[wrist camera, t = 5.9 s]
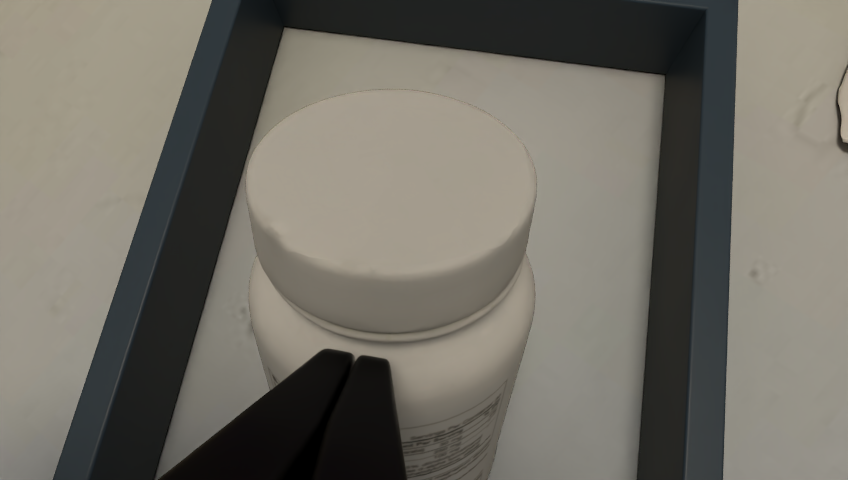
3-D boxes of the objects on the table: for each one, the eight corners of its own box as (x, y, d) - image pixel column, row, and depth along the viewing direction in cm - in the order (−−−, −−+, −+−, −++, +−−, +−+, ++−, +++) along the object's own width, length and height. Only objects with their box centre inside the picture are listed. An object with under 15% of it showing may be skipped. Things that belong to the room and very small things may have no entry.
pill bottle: (345, 335, 16) (320, 48, 10) (513, 393, 15) (596, 112, 9) (250, 500, 13) (132, 226, 7) (455, 588, 12) (524, 356, 6)
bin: (656, 736, 13) (713, 826, 10) (85, 605, 14) (-7, 651, 11) (694, 55, 18) (740, -14, 15) (266, 3, 19) (233, -70, 16)
